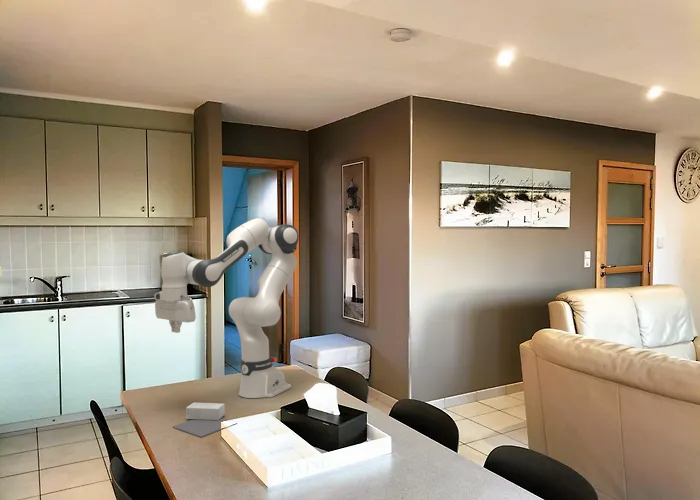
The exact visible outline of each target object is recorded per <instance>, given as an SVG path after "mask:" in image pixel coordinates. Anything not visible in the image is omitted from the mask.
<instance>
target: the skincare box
mask: <svg viewBox="0 0 700 500" xmlns="http://www.w3.org/2000/svg"><path fill="white" fill-rule="evenodd" d="M225 405H226V404H225V403H217V402H216V403H215V402H196V401H195V402H192V403H191V404H189V405H188V406H186V408H185V413H186V414H185V417H186V420H193V419H200V420H219V419H220V418H223V417H224V416H225V414H226V412H225V408H226V407H225Z"/></svg>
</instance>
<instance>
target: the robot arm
mask: <svg viewBox="0 0 700 500" xmlns="http://www.w3.org/2000/svg"><path fill="white" fill-rule="evenodd" d="M299 239H300V238H299V231H298V229H297V228H296V227H295V226H293V225H292V224H289V223H288V224H280V225H277V226H273V227H270V226H269V224H268V223H267V221H266V220H264V219H263V218H260V217H256V218H253V219H250V220H248V221H246V222H244V223H243V224H241V225H239V226H238V227H236V228H234V229H233V230H231V232H230V233H229V234H228V235H227V237H226V247H227V248H225V249H224V251H222V252H221V253H220V254H219V255H217V256H216V257H214V258H210V259H197V258H195V257H192V256H190V255H188V254H186V253H185V252H184V251H181V250H177V251H172V252H171V251H169V252H168V253H165V254H164V255H163V256H162V258H161V259H162V260H161V265H160V266H161V271H160V272H161V273H160V275H161V276H160V277H161V279H162V284H161V290H160V291H159V292H156V293H155V294H154V300H155V301H154V311H155V316H156V318H157V319H161V320H168V323H169V325H170V328H171V333H177V334H178V333H181V327H182V324H183V323H192V322H195V320H196V319H197V318H196V316H197V315H196V307H195V303H194V301H193V299H192V298H191V296H188V287H187V286H188V284H191V285H197V286H202V287H205V288H212V287H214V286H215V285H217V284H218V283H219V281H220V280H221V279H222V278H223V276H224V274H225V273H226V272H227V271H228V270H230V268H231V267H233V266H234V265H235V264H237V263H238V262H239V261H240V260H242V259H243V258H244V257H245V256H246V255H247V254H248V253H250V252H251V251H253V250H255V249H256V248H257V247H258V248H259V250H260V251H261V252H263V253H264V254H265V255H266V254H267V255H272V256H271V259H270V262H269V263H268V264H267V266H266V267H265V268H264V270H263V272H262V273H261V275H260V277H259V279H257V283H256V284H257V288H258V292H257V294H256V296H255V297H249V296H241V297H237V298H235V299H233V300H232V301H231V302H230V304H229V305H228V314H229V316H230V318H231V319H232V321H233V322H234V325H235V326H236V329H237V331H238V334H239V335H238V336H239V339H240V347H241V348H240V350H241V358H240V369H241V370H240V371H241V376H240V386H239V391H238V395H239V396H240V397H242V398H246V399H259V398H273V397H275V396H277V395H279V394H281V393H283V392H285V391H287V390H289V389H291V388H292V384H291V383H288V382H286V377H285V374H284V373H283V371H281V370H280V369H278V368H277V367H275V366H274V365H273V363H276V364H277V361H278V358H277V357H275V356H273V357H270V347H269V346H270V340H269V338H268V336H267V335H266V334H265V333H264V331H263V328H264V327H271V326H275V325H277V323H278V322H279V321H280V318H281V315H282V311H281V307H280V305H279V304H280V303H279V302H280V298H281V296H282V294H283V292H284V290H285V288H286V286H287V284H288V283H289V281H290V280H291V279H292V276H293V274H294V272H295V269H296V267H297V263H298V260H297V258H296V256H295V254H294V253H295V252H296V251H297V248H298V247H297V246H298V243H299ZM262 327H263V328H262Z"/></svg>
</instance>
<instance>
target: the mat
mask: <svg viewBox="0 0 700 500" xmlns="http://www.w3.org/2000/svg"><path fill="white" fill-rule="evenodd" d="M227 420H228V419H227V418H223V417H221V418H220V419H219V420H200V419H189V420H187V421H183V422H182V423H179V424H176V425H174V426H173V425H172V428H173V429H175V430H178V431H181V432H184V433H187V434H188V435H193V436H195V437H198V438H201V439H202V438H204V437H207V436H209V435H212V434H214V433H217V432H219V431H222V430H221V422H223V421H227Z"/></svg>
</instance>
